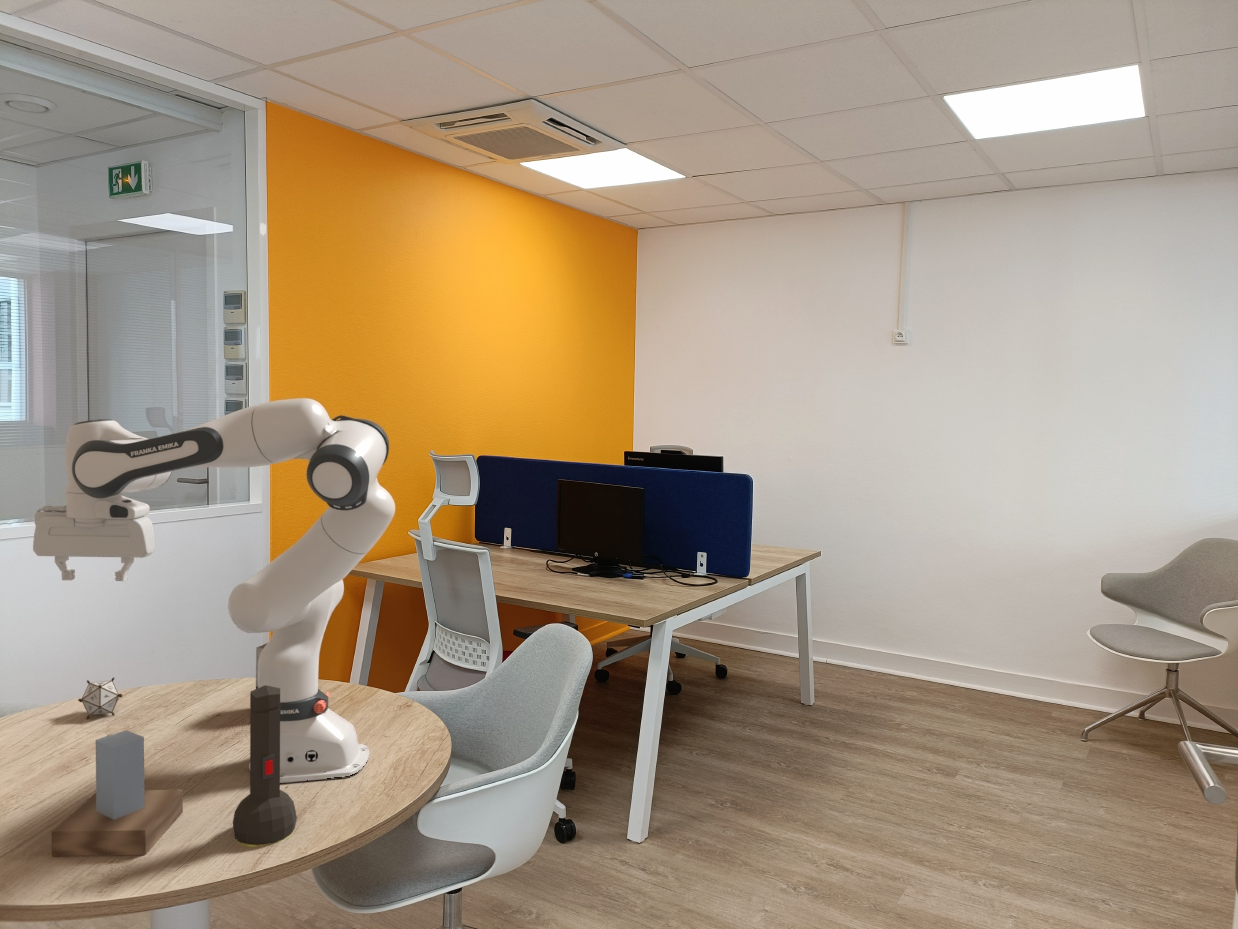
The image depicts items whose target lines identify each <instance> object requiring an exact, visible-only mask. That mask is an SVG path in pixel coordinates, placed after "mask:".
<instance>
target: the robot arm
mask: <svg viewBox="0 0 1238 929" xmlns="http://www.w3.org/2000/svg"><path fill="white" fill-rule="evenodd" d="M65 441H66V442H65V452H64V453H65V454H64V456H65V457H64V461H65V462H64V463H65V465H64V466H65V470H66V473H67V474H66V475H67V483H66V487H65V505H57V506H53V505H44V506H42V507H40V508H39V509H38V510H36V511H35V513H34V526H35V527H34V533H33V540H32V541H33V544H32V550H33V552H34V554H36V556H37V557H54V564H55V565H56V566H57V568H58V569H59V571H60V572H61V580H62V581H72V580H73V581H74V580H75V578H76V570H75V569H72V568H70V566H69V564H68V562H67V561H68V560H69V558H70V557H71V558H72V557H74V558H76V557H77V558H79V557H81V558H120V563H121V564H123V566H122V567H121V569H119V570H117V571H114V574H115V575H114V576H115V578H114V579H115V581H116V582H126V581H127V580H128V578H129V571H130V569H131V567H132V565H133V564H134V562H135V558H139V559H140V558H141V559H144V558H146V557H149V556H151V555H152V554H153V553H154V551H155V548H156V541H155V540H156V538H155V531H154V525H153V522H152V520H151V519H150V517H148V515H149V514H150V509H151V508H150V505H149V504H147V503H146V502H143V501H139V500H135V499H134V498H130V497H127V496H124V494H130V493H131V494H132V493H135V492H136V493H137V492H143V491H148V490H149V491H150V490H152V489H153V490H154V489H155V488H159V487H161V486H163V485H165V484H166V483H167V482H168V481H169V479H170V478H171V476H172V473H173V472H175V471H180V470H184V469H197V468H198V469H199V468H253V467H254V468H255V467H263V466H270V465H274V464H275V465H276V464H280V463H283V462H287V461H289V460H293V459H294V460H299V459H300V460H307V461H309V462H308V464H307V468H306V481H307V484H308V485H309V488H310V489H311V490H312V491H313V493H314V494H315V495H316V496H317V497H318V498H319V499H321V501H323V502H325V503H326V504H327V505H328V508H326V510H325V511H324V512H323V513H322V514H321V515H320V516H319V518H318V519H317V520H316V521H315V522H314V523H313V524H312V526H311V527H309V529H308V530H307V531H306V532H305V533H304V534H303V535H302V537H300V538H299V539H298V540H297V542H295V543H294V544H293V545H292V546H290V547H289V548H287V549H286V550H285V551H284V552H282V553H281V554H279V555H278V556H277V557H276V558H274V559H273V560H272V561H271V562H269V563H268V564H267V565H266V566H265V567H263V568H262V569H260V570H259V571H258V572H257V573H255V574H254V575H253V576H251V577H250V578H248V579H246V580H245V581H242V582H241V583H239V584H237V585H236V586H235V587H234V588H233V590H232V591H231V593H230V595H229V596H228V603H227V604H228V605H227V607H228V608H227V609H228V614H229V617H230V620H231V621H232V622H233V624H234V625H235V627H236V628H237V629H239V630H240V631H242V632H244V633H248V634H257V633H258V634H261V633H271V632H272V635H271V636H270V639H269V641H268V642H267V643H268V644H267V645H266V646H265V647H264V649H263V650H262V652H261V653H260V656H259V659H258V688H260V687H262V686H265V685H267V686H272V687H276V688H280V784H284V783H285V784H286V783H294V782H295V783H297V782H306V781H307V780H308V781H317V780H328V779H327V778H331V779H335V778H334V777H342V776H350V775H352V774H354V773H356V772H358V771H359V770H360V769H361V768H362V767H363V766H364V765H365V764H366V762H367V760H368V761H369V759H370V749H369V747H368V746H367V745H366V744H365V743H364V744H363V743H359V741H358V735H357V731H356V728H355V726H354V725H353V724H352V723H351V722H350V721H348V720H347V719H345V718H343V717H342V716H341V715H339V714H337V713H336V712H334V711H333V710H332V709H330V708H329V699H330V691H327V692H326V693H324V692H323V691H322V690H321V689H319V667H320V666H319V665H320V664H319V662H320V652H321V647H322V642H323V639H324V634H325V631H326V628H327V626H328V624H329V620H330V618H331V616H332V613H333V612H334V610H335V609H336V607H337V606H338V604H340V602H341V600H342V599H343V596H344V591H345V586H344V585H345V584H344V579H345V578H346V577H347V576H348V574H349V573H350V572H351V571H353V569H354V568H355V567H356V566H357V565H358V564H359V563H360V562H361V561H362V559H364V557H365V556H366V555H367V554H368V553H369V552H370V551H371V550H372V548H373V547H374V546H375V545H376V544H377V543H378V541H379V540H380V539H381V537H382V536H383V535H384V533H385V532H386V530H387V528H388V527H389V525H390V524H391V522H392V521H393V519H394V516H395V514H396V503H395V500H394V498H393V496H392V495H391V493H390V492H389V491H387V490H386V488H384V487H383V486H382V485H380V483H379V480H378V474H379V472H380V471H381V469H382V467H383V466H384V464H385V463H386V462H387V459H388V457H389V452H390V440H389V437H388V434H387V433H386V431H385V430H384V428H383V427H382V426H380V425H379V424H378V423H376V422H374V421H372V420H369V419H366V418H365V419H364V418H354V417H351V416H346V415H343V414H342V415H337V416H335V417H334V418H332V419H331V417H330V416H329V413H328V412H327V410H326V408H325V407H324V406H323V405H322V404H321V403H320V402H319V401H317V400H315V399H313V398H309V397H308V398H305V397H303V398H288V399H278V400H273V401H268V402H263V403H257V404H255V405H252V406H251V405H250V406H247V407H245V408H242V409H239V410H236V411H233V412H231V413H228V414H225V415H223V416H220V417H218V418H217V417H216V418H215V419H212V420H210V421H207V422H205V423H201V424H199V425H196V426H194V427H192V428H188V429H185V430H182V431H178V432H175V433H170V434H166V435H165V434H164V435H162V436H156V437H152V438H147V437H144V436H141V435H138V434H135V433H134V432H132V431H129V430H128V429H125V428H124V427H123V426H121V424H120V423H119V422H117V421H116V420H113V419H110V418H109V419H108V418H100V419H91V420H89V419H88V420H84V421H83V420H82V421H79V422H76V423H74V424H73V425H71V426H70V427H69V430H68V432H67V435H66V439H65ZM122 494H123V495H122ZM368 758H369V759H368ZM367 763H368V762H367ZM366 765H367V764H366ZM366 765H365V766H366ZM248 769H249V771H250V762H249V764H248ZM359 772H360V771H359ZM359 772H358V773H359ZM350 777H351V776H350ZM342 778H343V777H342Z"/></svg>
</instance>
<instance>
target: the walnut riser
mask: <svg viewBox="0 0 1238 929" xmlns="http://www.w3.org/2000/svg"><path fill="white" fill-rule="evenodd" d="M183 793H184V790H183V789H144V808H142V809H140V810H137V811H135V812H132V813H130V814H127V815H125V816H122V817H120V818H117V819H115V820H113V819H111V818H109V817H107V816H105V815H103V814H101V813H99V812H96V792H94V793H93V794H92V795H91V796H90V797H89V798H88V799H87V800H86V801H84V802H83V803H82V804H80V805H79V806H78V807H77V808H76V809H75V810H74V811H73V812H72V813H71V814H69V815H67V817H66V818H65V819H64V820H62V821H61V822H60V823H59V824H58V825H57V826H56V827H54V828H53V829H52V830H51V857H87V856H91V857H92V856H94V857H95V856H146V855H147V854H148V853H149V852H150V850H151V849H152V848H153V847H154V846H155V845H156V844H157V842H158V841H159V840H161V838H162V837H163V836H164V834H165V833H166V832H167V831H168V829H170V828H171V826H173V824H174V823H175V822H176V821H177V820H178V819H179V817H180V816H181V815H182V814H183V813H184V804H183V803H184V802H183V801H184V795H183ZM147 852H148V853H147ZM145 854H146V855H145Z"/></svg>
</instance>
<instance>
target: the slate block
mask: <svg viewBox="0 0 1238 929" xmlns="http://www.w3.org/2000/svg"><path fill="white" fill-rule="evenodd" d="M144 790H145V737H144V736H143V735H140V734H137V733H135V732H132V731H129V730H123V731H120V732H117V733H113V734H111V735H108V736H105V737H101V738H98V739H95V793H96V812H99V813H101V814H103V815H105V816H107V817H109V818H111V819H113V820H115V819H117V818H120V817H122V816H125V815H127V814H130V813H132V812H135V811H137V810H140V809H142V808H144Z"/></svg>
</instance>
